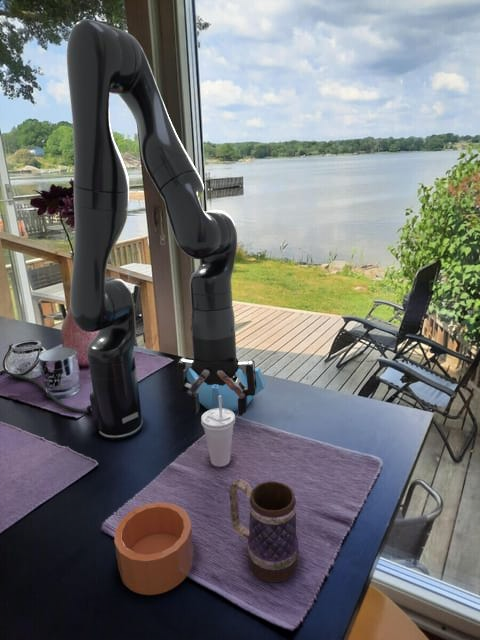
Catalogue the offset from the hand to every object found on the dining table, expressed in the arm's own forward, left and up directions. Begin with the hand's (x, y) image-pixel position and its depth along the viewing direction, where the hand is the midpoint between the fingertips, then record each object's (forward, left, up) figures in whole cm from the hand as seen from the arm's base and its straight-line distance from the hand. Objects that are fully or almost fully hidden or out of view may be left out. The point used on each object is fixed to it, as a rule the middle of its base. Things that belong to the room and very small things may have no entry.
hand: (218, 412), depth 81 cm
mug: (+11, -21, -11) cm, 26 cm away
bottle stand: (-4, -24, -11) cm, 26 cm away
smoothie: (0, 0, -11) cm, 11 cm away
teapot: (-4, +23, -11) cm, 26 cm away
